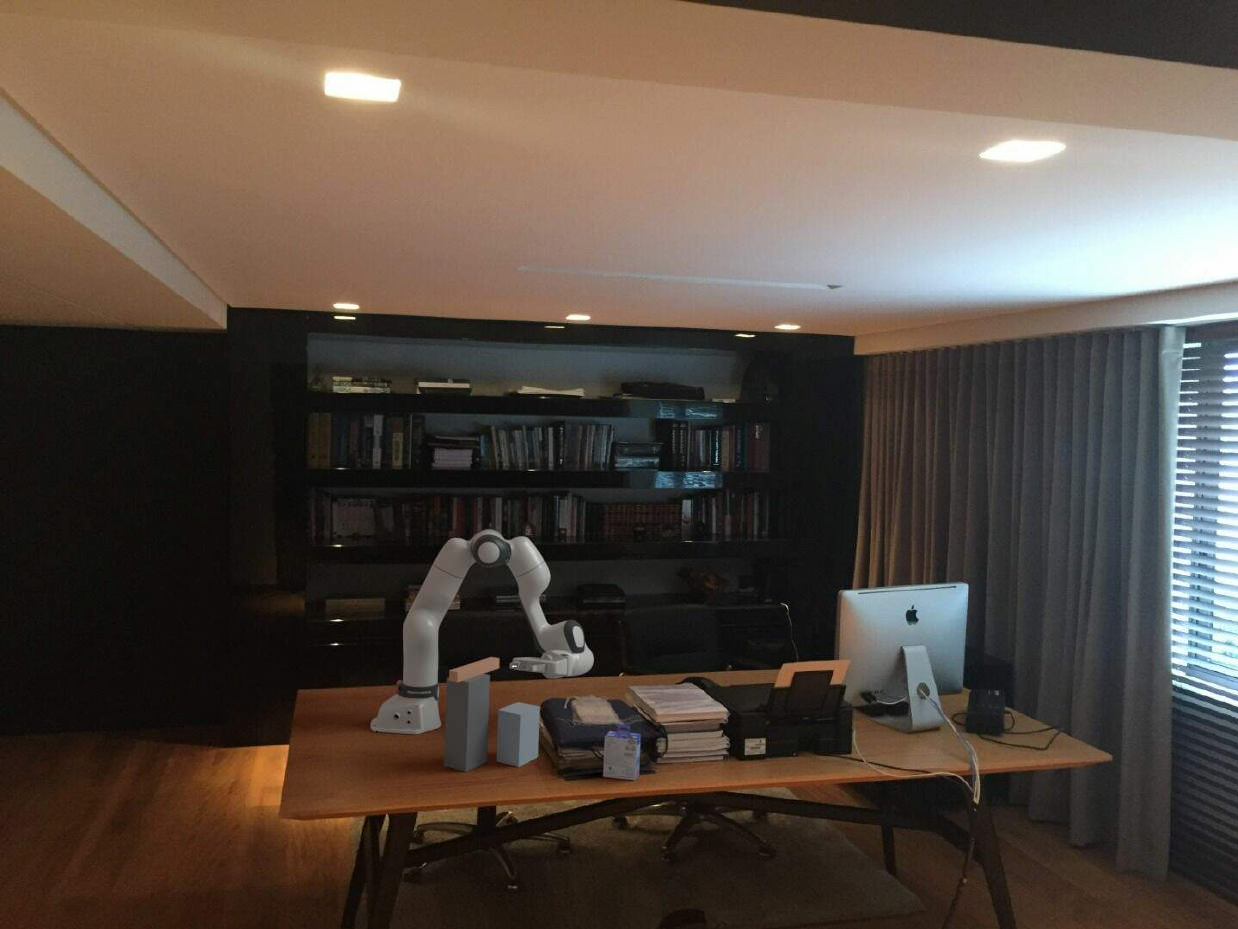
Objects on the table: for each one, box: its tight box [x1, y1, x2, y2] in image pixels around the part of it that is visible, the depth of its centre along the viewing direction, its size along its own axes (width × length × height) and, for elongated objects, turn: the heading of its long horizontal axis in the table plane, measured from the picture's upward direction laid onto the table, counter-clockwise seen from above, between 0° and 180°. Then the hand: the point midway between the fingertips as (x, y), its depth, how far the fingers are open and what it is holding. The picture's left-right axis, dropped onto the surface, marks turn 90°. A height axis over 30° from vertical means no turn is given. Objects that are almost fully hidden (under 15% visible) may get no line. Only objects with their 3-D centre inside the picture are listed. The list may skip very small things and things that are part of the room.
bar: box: [448, 656, 500, 683], centre depth 291 cm, size 20×3×3 cm, turn 151°
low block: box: [496, 701, 541, 768], centre depth 295 cm, size 10×8×16 cm
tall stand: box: [443, 673, 491, 773], centre depth 289 cm, size 10×8×26 cm
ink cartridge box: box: [602, 724, 642, 781], centre depth 285 cm, size 10×6×14 cm, turn 78°
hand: (521, 667), depth 310 cm, fingers open, 8 cm apart
